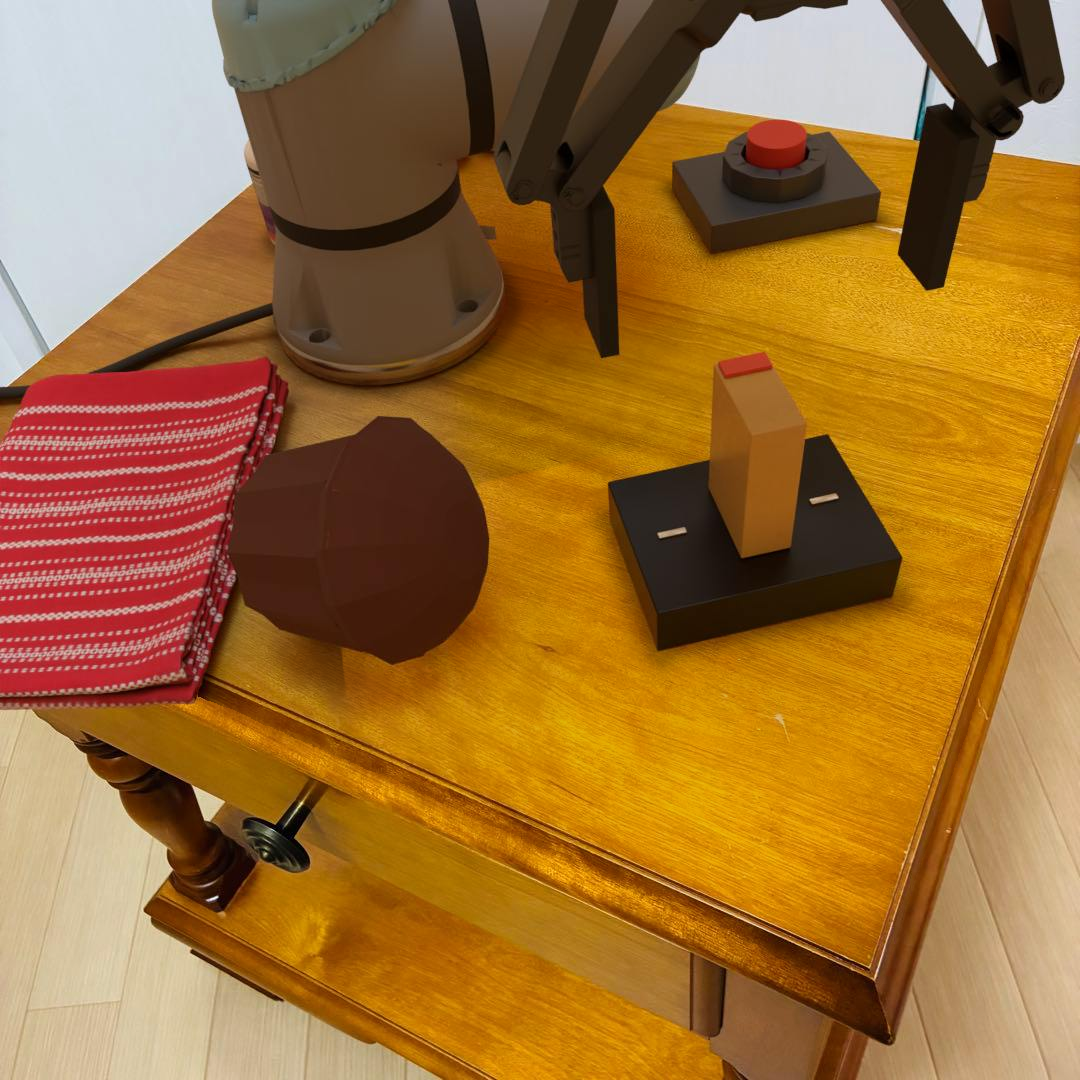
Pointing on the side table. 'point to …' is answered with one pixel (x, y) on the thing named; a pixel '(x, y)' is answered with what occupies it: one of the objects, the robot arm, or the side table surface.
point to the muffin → (363, 541)
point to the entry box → (773, 194)
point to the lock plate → (757, 581)
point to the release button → (776, 144)
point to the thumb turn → (755, 453)
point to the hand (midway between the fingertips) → (762, 304)
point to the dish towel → (124, 529)
